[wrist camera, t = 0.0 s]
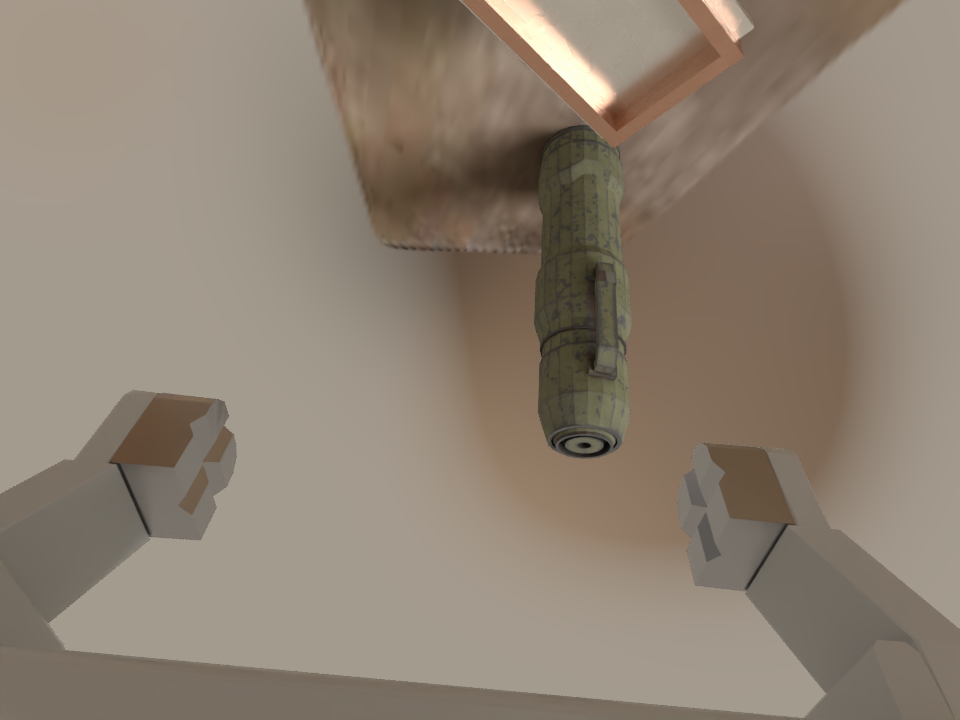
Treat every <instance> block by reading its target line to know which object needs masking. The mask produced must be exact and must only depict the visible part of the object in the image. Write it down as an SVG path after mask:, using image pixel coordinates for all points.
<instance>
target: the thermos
mask: <svg viewBox="0 0 960 720" xmlns="http://www.w3.org/2000/svg"><path fill="white" fill-rule="evenodd" d="M538 193H539V205H540V210H541V212H542V214H543V226H542V257H541V269H540V270H539V272H538V275H537V279H536V288H535V289H536V290H535V317H534V325H535V329H536V333H537V335H538V338H539V341H540V352H541V357H542V359H541V362H540V367H539V399H538V413H539V417H540V421H541V424H542V427H543V431H544V433H545V437H546V439H547V442H548V445H549V446H550V447H551V448H552V449H553V450H555V451H557V452H559V453H561V454H564V455H566V456H569V457H573V458H581V459H582V458H583V459H584V458H596V457H601V456H604V455H607V454H609V453H612V452H613V451H615V450H617V449H618V448H619V447H620V445H621V444H622V441H623V438H624V434H625V431H626V428H627V425H628V422H629V418H630V405H629V387H628V370H627V360H626V358H625V357H624V356H625V355H626V341H627V338H628V335H629V332H630V329H631V304H630V289H629V274H628V272H627V271H626V269H625V267H624V265H623V260H622V244H621V227H620V211H619V204H620V201H621V199H622V196H623V193H624V188H623V173H622V164H621V162H620V151H619V147H618V145H617V146H616V147H615V148H613V147H612V146H611V145H610V144H609V143H608V142H607V141H606V140H605V139H603V138H601V137H600V136H599V135H598V134H597V133H596V132H595V131H594V130H592V129H591V128H590V127H589V126H585V125H582V126H574V127H569V128H567V129H565V130H562V131H560V132H558V133H557V134H556V135H554V136H553V137H552V138H551V139H549V141H548V142H547V144H546V145H545V147H544V148H543V153H542V157H541V169H540V173H539V191H538Z"/></svg>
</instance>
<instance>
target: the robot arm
mask: <svg viewBox="0 0 960 720" xmlns="http://www.w3.org/2000/svg"><path fill="white" fill-rule="evenodd" d="M228 417H229V415H228V411H227V408H226V405H225V402H224V401H221V400H219V399H211V398H203V397H194V396H185V395H175V394H168V393H153V392H145V391H136V390H133V391H131V392H129V393H127V394H125V395H124V396H123V397H122V398H121V400H120V401H119V402H118V403H117V405H116V406H115V407H114V409H113V410H112V411H111V413H110V414H109V415H108V416H107V418H106V419H105V420H104V422H103V423H102V424H101V426H100V427H99V428H98V429H97V431H96V432H95V433H94V435H93V436H92V437H91V439H90V440H89V441H88V442H87V444H86V445H85V446H84V448H83V449H82V450H81V451H80V453H79V454H78V455H77V457H76V458H75V459H74V460H63V461H61V462H59V463H57V464H55V465H54V466H51V467H50V468H48V469H46V470H44V471H42V472H40V473H38V474H37V475H35V476H33V477H31V478H29V479H27V480H25V481H24V482H22V483H20V484H18V485H16V486H14V487H12V488H10V489H8V490H7V491H5V492H3V493H1V494H0V720H960V629H959V628H958V627H956V626H955V625H954V624H953V623H951V622H950V621H949V620H948V619H947V618H946V617H944V616H943V615H942V614H941V613H940V612H938V611H937V610H936V609H935V608H934V607H932V606H931V605H930V604H929V603H927V602H926V601H925V600H924V599H923V598H922V597H920V596H919V595H918V594H917V593H915V592H914V591H913V590H912V589H911V588H909V587H908V586H907V585H906V584H905V583H903V582H902V581H901V580H900V579H898V578H897V577H896V576H895V575H894V574H893V573H891V572H890V571H889V570H888V569H886V568H885V567H884V566H883V565H882V564H881V563H879V562H878V561H877V560H876V559H874V558H873V557H872V556H871V555H870V554H868V553H867V552H866V551H865V550H864V549H862V548H861V547H860V546H859V545H857V544H856V543H855V542H854V541H853V540H852V539H850V538H849V537H848V536H847V535H846V534H844V533H843V532H842V531H841V530H836V529H831V528H830V526H829V524H828V522H827V520H826V518H825V515H824V513H823V511H822V509H821V507H820V505H819V503H818V500H817V498H816V496H815V494H814V492H813V490H812V488H811V486H810V483H809V481H808V479H807V477H806V475H805V473H804V471H803V469H802V467H801V464H800V462H799V460H798V458H797V456H796V454H795V453H794V452H793V451H791V450H788V449H776V448H763V447H760V448H758V447H749V446H738V445H725V444H713V443H700V444H699V445H698V446H697V447H696V448H695V451H694V453H693V455H692V462H693V466H694V469H693V470H692V471H690V472H688V473H687V474H685V475H684V477H683V480H682V482H681V485H680V488H679V497H678V513H679V519H680V524H681V528H682V529H683V530H684V531H685V532H686V533H687V534H688V535H689V537H691V539H692V540H691V542H690V544H689V546H688V549H687V554H688V559H689V563H690V567H691V571H692V575H693V579H694V583H695V585H696V586H705V587H714V588H722V589H731V590H739V591H746V593H745V594H746V595H747V597H748V598H749V599H750V600H751V602H752V603H753V604H754V605H755V607H756V608H757V609H758V610H759V611H760V613H761V614H762V615H763V616H764V618H765V619H766V620H767V621H768V623H769V624H770V625H771V626H772V627H773V629H774V630H775V631H776V632H777V633H778V635H779V636H780V637H781V638H782V640H783V641H784V642H785V643H786V645H787V646H788V647H789V648H790V650H791V651H792V652H793V653H794V655H795V656H796V657H797V658H798V660H799V661H800V662H801V663H802V665H803V666H804V667H805V668H806V669H807V671H808V672H809V673H810V674H811V676H812V677H813V678H814V679H815V681H816V682H817V683H818V684H819V685H820V687H821V688H822V689H823V690H824V692H825V693H826V695H825V696H824V697H823V698H822V699H821V700H820V701H819V702H818V703H817V704H816V705H815V706H814V707H813V708H812V709H811V711H810V712H809V713H808V714H807V715H806V717H805V718H797V717H786V716H774V715H763V714H753V713H742V712H731V711H720V710H709V709H698V708H688V707H676V706H666V705H655V704H643V703H634V702H623V701H612V700H601V699H590V698H580V697H569V696H557V695H547V694H536V693H526V692H515V691H503V690H493V689H483V688H472V687H461V686H460V687H459V686H449V685H439V684H428V683H417V682H406V681H395V680H384V679H373V678H362V677H351V676H339V675H329V674H318V673H308V672H297V671H285V670H275V669H264V668H253V667H242V666H231V665H221V664H210V663H199V662H187V661H177V660H166V659H155V658H144V657H133V656H122V655H112V654H100V653H90V652H79V651H68V650H65V648H64V645H63V643H62V642H61V640H60V639H59V638H58V636H57V635H56V634H55V632H54V631H53V629H52V628H51V627H50V625H49V624H48V623H49V622H50V621H51V620H53V619H54V618H55V617H57V616H58V615H59V614H60V613H61V612H63V611H64V610H65V609H66V608H67V607H69V606H70V605H71V604H72V603H74V602H75V601H76V600H77V599H78V598H80V597H81V596H82V595H83V594H84V593H86V592H87V591H88V590H89V589H91V588H92V587H93V586H94V585H95V584H97V583H98V582H99V581H100V580H102V579H103V578H104V577H105V576H106V575H108V574H109V573H110V572H111V571H112V570H114V569H115V568H116V567H117V566H119V565H120V564H121V563H122V562H124V561H125V560H126V559H127V558H128V557H130V556H131V555H132V554H133V553H134V552H136V551H137V550H138V549H139V548H141V547H142V546H143V545H144V544H145V543H147V542H148V541H149V540H150V538H149V537H159V538H176V539H190V540H201V538H202V536H203V534H204V532H205V530H206V528H207V526H208V524H209V522H210V520H211V518H212V516H213V514H214V512H215V510H216V504H215V501H214V498H213V496H214V495H215V494H217V493H218V492H220V491H221V490H223V489H224V488H226V487H227V485H228V483H229V481H230V478H231V476H232V474H233V471H234V466H235V461H236V442H235V438H234V434H233V433H232V432H230V431H229V430H228V429H227V428H226V427H225V426H224V424H225V422H226V420H227V419H228Z"/></svg>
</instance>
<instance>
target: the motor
mask: <svg viewBox="0 0 960 720" xmlns="http://www.w3.org/2000/svg"><path fill="white" fill-rule="evenodd" d="M459 1H460V2H461V3H463V4H464V5H465V6H466V7H467V8H468V9H469V10H470V11H471V12H472V13H473V14H474V15H475V16H476V17H477V18H478V19H479V20H480V21H481V22H482V23H483V24H484V25H485V26H486V27H487V28H488V29H489V30H490V31H491V32H492V33H493V34H494V35H496V36H497V37H498V38H499V39H500V40H501V41H502V42H503V43H504V44H505V45H506V46H507V47H508V48H509V49H510V50H511V51H512V52H513V53H514V54H515V55H516V56H517V57H518V58H519V59H520V60H521V61H522V62H523V63H524V64H525V65H526V66H527V67H528V68H529V69H531V70H532V71H533V72H534V73H535V74H536V75H537V76H538V77H539V78H540V79H541V80H542V81H543V82H544V83H545V84H546V85H547V86H548V87H549V88H550V89H551V90H552V91H553V92H554V93H555V94H556V95H557V96H558V97H559V98H561V99H562V100H563V101H564V102H565V103H566V104H567V105H568V106H569V107H570V108H571V109H572V110H573V111H574V112H575V113H576V114H577V115H578V116H579V117H580V118H581V119H582V120H583V121H584V122H585V123H586V124H587V125H588V126H589V127H590V128H591V129H592V130H594V131H595V132H596V133H597V134H598V135H599V136H600V137H601V138H603V139H605V140H606V141H607V142H608V143H609V144H610V145H611V146H612V147H613V148H615V147H616V146H617V145H619V144H620V143H622V142H623V141H625V140H626V139H627V138H629V137H630V136H632V135H633V134H635V133H636V132H637V131H639V130H640V129H642V128H643V127H645V126H646V125H647V124H649V123H650V122H652V121H653V120H655V119H656V118H657V117H659V116H660V115H662V114H663V113H665V112H666V111H667V110H669V109H670V108H672V107H673V106H675V105H676V104H677V103H679V102H680V101H682V100H683V99H684V98H686V97H687V96H689V95H690V94H692V93H693V92H694V91H696V90H697V89H699V88H700V87H702V86H703V85H704V84H706V83H707V82H709V81H710V80H712V79H713V78H714V77H716V76H717V75H719V74H720V73H722V72H723V71H724V70H726V69H727V68H729V67H730V66H732V65H733V64H734V63H736V62H737V61H739V60H740V59H742V58H743V57H744V54H743V50H742V47H741V43H740V38H741V37H742V36H744V35H745V34H747V33H748V32H749V31H751V30H752V29H753V28H754V25H753V21H752V19H751V17H750V16H749V14H748V13H747V11H746V10H745V8H744V7H743V6H742V4H741V3H740V1H739V0H459Z"/></svg>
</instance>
